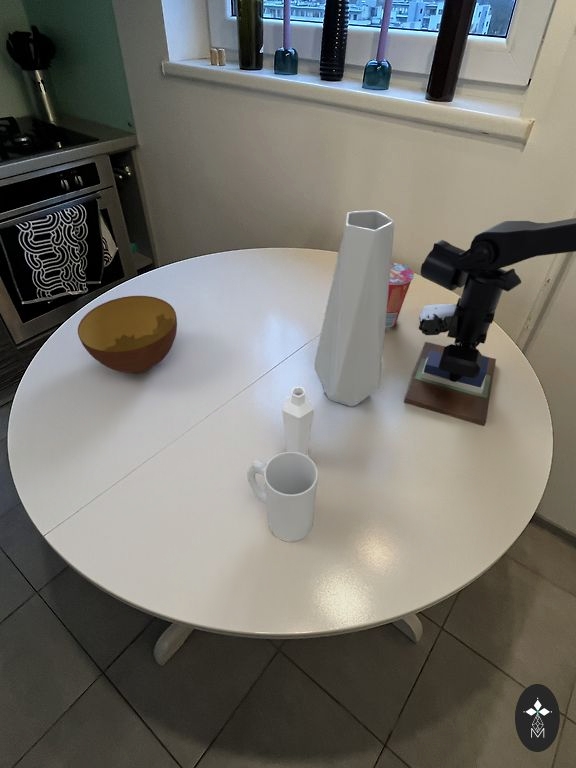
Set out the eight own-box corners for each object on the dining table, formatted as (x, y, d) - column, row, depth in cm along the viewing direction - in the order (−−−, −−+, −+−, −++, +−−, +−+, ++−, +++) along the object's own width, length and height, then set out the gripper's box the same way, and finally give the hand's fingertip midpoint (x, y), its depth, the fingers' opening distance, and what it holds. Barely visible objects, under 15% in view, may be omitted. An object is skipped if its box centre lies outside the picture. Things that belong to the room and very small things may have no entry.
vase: (394, 401, 82) (434, 227, 60) (340, 423, 79) (360, 246, 56) (357, 362, 90) (380, 195, 68) (306, 380, 86) (312, 210, 64)
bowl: (81, 394, 84) (63, 352, 77) (107, 336, 97) (94, 295, 90) (176, 392, 84) (166, 351, 77) (190, 335, 97) (182, 295, 90)
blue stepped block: (484, 377, 85) (492, 357, 82) (481, 394, 82) (489, 374, 79) (425, 361, 88) (431, 342, 85) (420, 377, 85) (426, 358, 82)
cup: (380, 305, 105) (387, 258, 97) (411, 320, 101) (422, 272, 92) (355, 322, 100) (360, 274, 92) (386, 339, 96) (395, 290, 88)
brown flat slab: (494, 363, 90) (496, 358, 89) (484, 426, 78) (486, 421, 77) (423, 345, 94) (425, 340, 93) (403, 402, 82) (405, 397, 81)
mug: (322, 513, 66) (326, 463, 58) (301, 552, 62) (303, 504, 53) (262, 485, 69) (259, 435, 61) (239, 520, 65) (231, 471, 57)
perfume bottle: (316, 453, 74) (321, 387, 64) (302, 472, 71) (305, 406, 61) (292, 441, 76) (293, 375, 65) (278, 459, 73) (276, 394, 63)
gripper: (438, 265, 82) (421, 334, 93) (417, 320, 70) (400, 392, 81) (503, 278, 79) (477, 348, 90) (492, 338, 67) (464, 411, 77)
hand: (454, 372), depth 84 cm, fingers closed on blue stepped block, 4 cm apart
